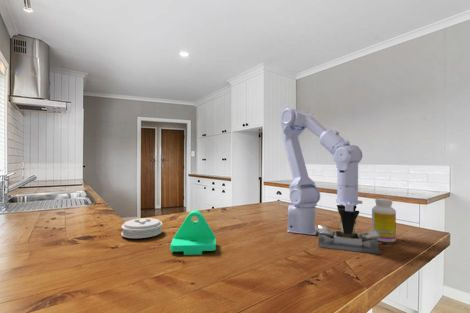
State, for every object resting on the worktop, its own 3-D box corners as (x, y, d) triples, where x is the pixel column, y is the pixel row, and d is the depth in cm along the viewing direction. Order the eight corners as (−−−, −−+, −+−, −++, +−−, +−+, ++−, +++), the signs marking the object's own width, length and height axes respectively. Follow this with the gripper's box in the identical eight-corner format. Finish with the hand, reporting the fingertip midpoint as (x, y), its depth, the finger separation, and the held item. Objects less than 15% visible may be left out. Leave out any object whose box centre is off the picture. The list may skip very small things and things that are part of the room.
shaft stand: (315, 246, 74) (315, 228, 74) (316, 236, 83) (316, 220, 83) (383, 254, 68) (383, 234, 68) (376, 243, 77) (376, 225, 77)
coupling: (340, 242, 74) (341, 218, 75) (339, 238, 78) (339, 215, 79) (356, 244, 73) (356, 219, 73) (354, 240, 77) (354, 217, 77)
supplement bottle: (399, 243, 77) (399, 201, 77) (375, 242, 79) (376, 200, 79) (390, 237, 84) (390, 198, 84) (368, 235, 85) (369, 197, 85)
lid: (123, 231, 88) (123, 216, 88) (161, 228, 92) (161, 214, 92) (118, 243, 76) (119, 226, 76) (162, 239, 79) (163, 223, 80)
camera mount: (169, 255, 66) (170, 216, 66) (173, 245, 74) (174, 210, 74) (215, 254, 67) (216, 215, 67) (215, 244, 75) (215, 210, 75)
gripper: (366, 188, 68) (365, 239, 67) (359, 183, 81) (358, 226, 81) (337, 187, 70) (337, 236, 70) (335, 182, 84) (335, 224, 83)
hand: (347, 231), depth 76 cm, fingers open, 5 cm apart
